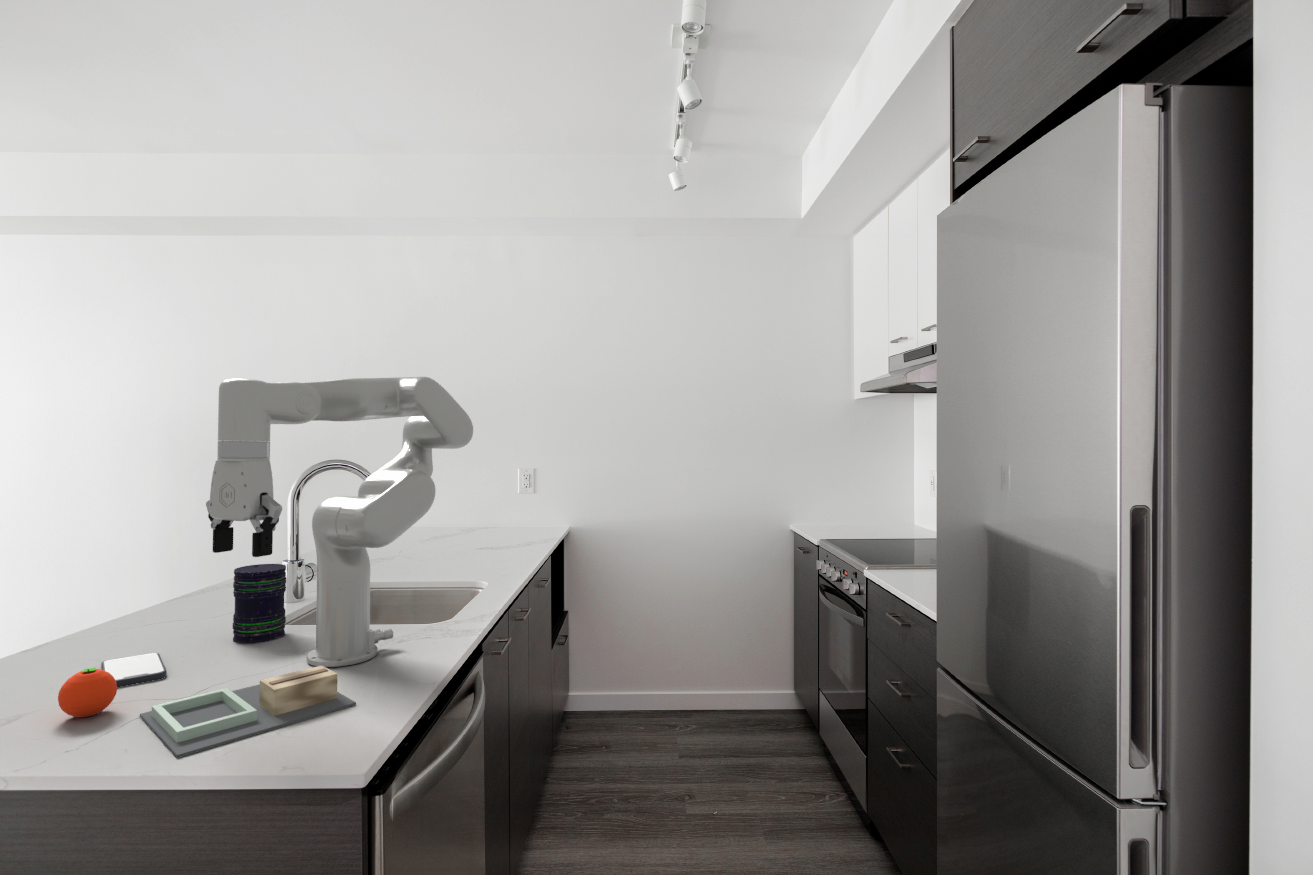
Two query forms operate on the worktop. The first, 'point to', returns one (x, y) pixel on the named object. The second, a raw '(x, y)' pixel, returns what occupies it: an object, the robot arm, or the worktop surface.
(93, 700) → the clementine
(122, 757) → the worktop surface
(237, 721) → the tray frame
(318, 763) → the worktop surface
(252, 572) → the storage jar
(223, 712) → the rubber mat
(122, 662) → the smartphone
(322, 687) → the wooden block
